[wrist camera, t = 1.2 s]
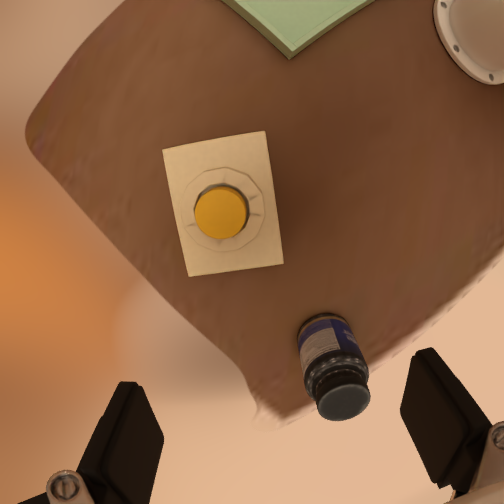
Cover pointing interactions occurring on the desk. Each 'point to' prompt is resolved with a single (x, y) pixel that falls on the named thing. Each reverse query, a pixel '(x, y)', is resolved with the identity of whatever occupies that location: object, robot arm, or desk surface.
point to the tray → (295, 19)
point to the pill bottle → (333, 367)
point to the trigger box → (233, 176)
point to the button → (220, 212)
